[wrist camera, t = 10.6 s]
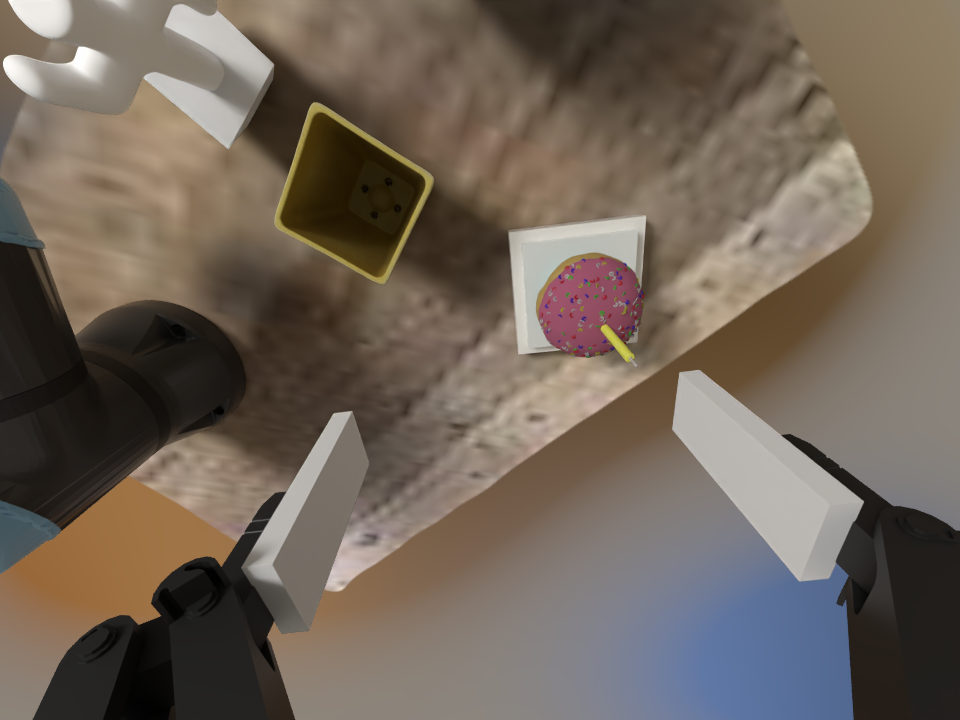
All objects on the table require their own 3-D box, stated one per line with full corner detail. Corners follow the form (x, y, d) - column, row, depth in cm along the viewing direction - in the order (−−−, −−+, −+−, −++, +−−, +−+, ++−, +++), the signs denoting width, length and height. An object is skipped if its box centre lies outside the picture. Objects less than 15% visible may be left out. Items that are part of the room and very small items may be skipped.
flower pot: (448, 180, 33) (436, 177, 24) (406, 265, 36) (383, 288, 28) (357, 121, 31) (311, 97, 23) (321, 217, 34) (270, 225, 26)
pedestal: (517, 346, 39) (519, 358, 37) (507, 230, 34) (509, 233, 32) (630, 335, 39) (641, 346, 36) (637, 214, 34) (650, 216, 31)
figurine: (305, 65, 29) (149, -41, 16) (249, 163, 32) (77, 145, 19) (220, -17, 27) (-43, -220, 14) (169, 96, 30) (-88, 21, 17)
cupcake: (641, 298, 34) (714, 349, 23) (566, 353, 36) (600, 423, 25) (588, 224, 31) (642, 243, 20) (511, 289, 34) (523, 337, 23)
